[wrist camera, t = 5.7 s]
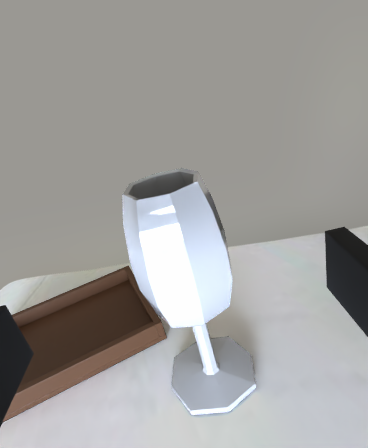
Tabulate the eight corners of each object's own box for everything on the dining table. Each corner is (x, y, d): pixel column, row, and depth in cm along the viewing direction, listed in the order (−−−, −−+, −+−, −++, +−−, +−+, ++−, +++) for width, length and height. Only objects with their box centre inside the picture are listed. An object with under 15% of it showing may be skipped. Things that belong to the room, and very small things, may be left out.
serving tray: (133, 278, 51) (128, 265, 50) (166, 338, 38) (161, 322, 37) (-7, 339, 45) (-16, 326, 44) (-26, 436, 32) (-40, 421, 31)
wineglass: (163, 358, 35) (101, 184, 26) (235, 331, 36) (198, 156, 27) (183, 434, 27) (104, 222, 18) (273, 395, 29) (240, 179, 20)
